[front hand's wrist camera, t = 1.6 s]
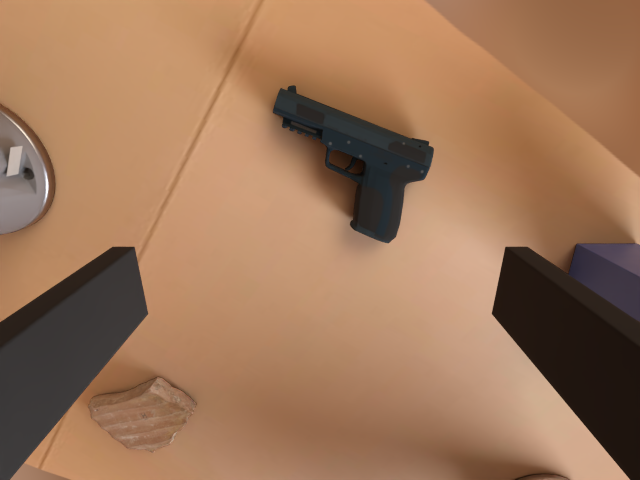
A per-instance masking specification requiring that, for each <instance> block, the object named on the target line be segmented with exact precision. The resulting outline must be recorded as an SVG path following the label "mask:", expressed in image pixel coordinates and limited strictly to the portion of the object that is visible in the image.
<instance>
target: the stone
mask: <svg viewBox="0 0 640 480" xmlns="http://www.w3.org/2000/svg"><path fill="white" fill-rule="evenodd" d="M88 407H89V409H90V412H91V418H92V419H93V420H95V421H96V422H97V423H98V424H99V425H100V427H101V428H102V429H104V430H106V431H107V432H108V433H109V434H110V435H111V436H112V437H113V438H114V439H116V440H117V441H119V442H121V443H122V444H123V445H124V446H125V447H126V448H128V449H135V450H148V451H150V452H152V453H154V451H155V450H156V449H158V448H160V447H163V446H167V445H169V444H170V443H171V442H172V441H173V439H174V437H175V435H176V433H177V431H179V430H181V429H182V428H183V427H184V426H185V425H186V422H187V420H188V417H189V416H190V415H192V414H193V411H194V409H195V407H196V403H195V402H194V401H193V399H191V398H190V397H189V396H187V395H186V394H185V393H184V392H183V391H181V390H179V389H177V388H174V387H171V385H170V384H169V383H168V382H166V381H165V380H164V379H162V378H159V377H157V378H155V379H153V380H150V381H148V382H147V383H143V384H140V385H138V386H137V387H136V388H134V389H131V390H129V391H126V392H121V393H112V394H104V395H98V396H94V397H93V398H92V399H91V400H90V404H89V405H88Z"/></svg>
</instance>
